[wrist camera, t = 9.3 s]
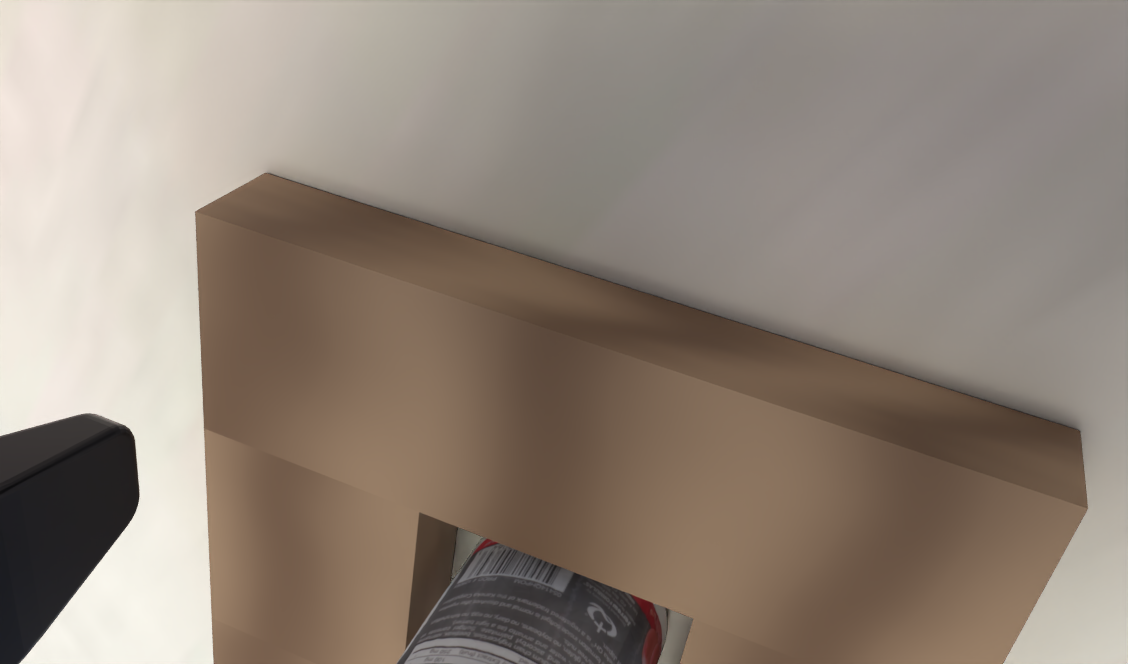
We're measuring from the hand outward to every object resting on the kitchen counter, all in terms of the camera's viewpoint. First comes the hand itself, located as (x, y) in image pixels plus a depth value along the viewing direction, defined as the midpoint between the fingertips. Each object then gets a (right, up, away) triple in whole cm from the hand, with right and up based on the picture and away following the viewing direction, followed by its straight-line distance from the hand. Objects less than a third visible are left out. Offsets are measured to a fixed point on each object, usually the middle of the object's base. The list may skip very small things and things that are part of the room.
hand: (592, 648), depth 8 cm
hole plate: (0, -4, +18) cm, 19 cm away
